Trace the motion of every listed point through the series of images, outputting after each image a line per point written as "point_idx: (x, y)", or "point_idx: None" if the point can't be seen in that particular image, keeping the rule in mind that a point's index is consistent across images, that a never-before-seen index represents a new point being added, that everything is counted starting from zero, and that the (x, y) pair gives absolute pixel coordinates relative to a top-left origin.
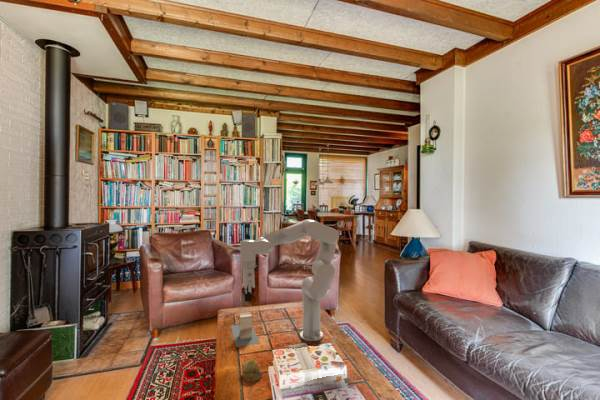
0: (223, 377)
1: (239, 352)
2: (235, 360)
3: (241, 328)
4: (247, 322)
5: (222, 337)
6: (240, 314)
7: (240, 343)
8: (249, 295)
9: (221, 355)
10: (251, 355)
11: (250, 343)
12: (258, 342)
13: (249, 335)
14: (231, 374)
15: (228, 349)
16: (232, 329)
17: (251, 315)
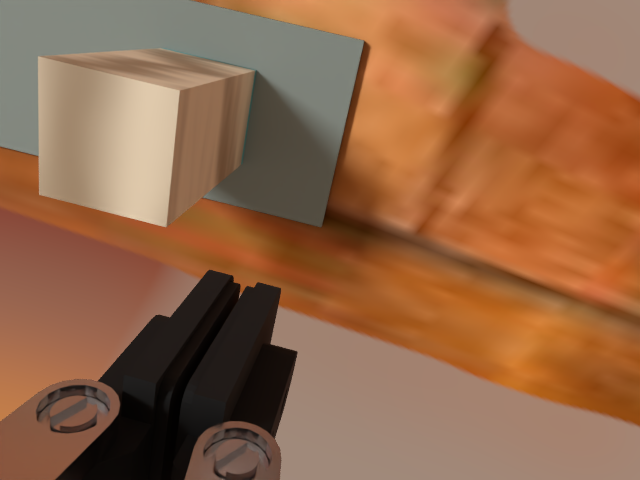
0: (598, 401)
1: (393, 228)
2: (474, 287)
3: (212, 182)
4: (200, 135)
5: (125, 247)
6: (79, 193)
7: (286, 182)
8: (271, 425)
9: (360, 331)
10: (486, 175)
11: (328, 116)
12: (349, 49)
13: (245, 96)
14: (605, 360)
15: (311, 272)
16: (35, 148)
17: (162, 90)
